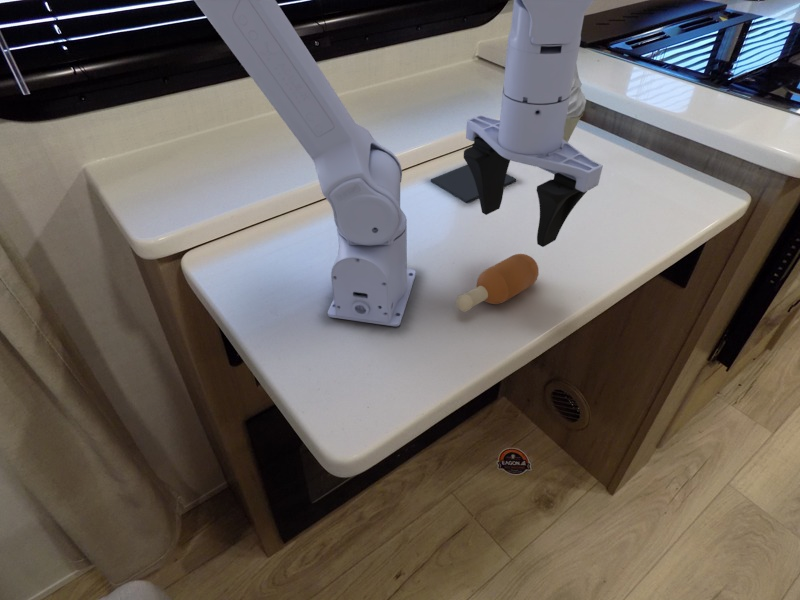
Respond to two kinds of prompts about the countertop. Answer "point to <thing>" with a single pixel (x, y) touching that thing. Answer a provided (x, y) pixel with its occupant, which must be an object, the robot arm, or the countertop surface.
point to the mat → (462, 183)
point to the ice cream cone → (574, 107)
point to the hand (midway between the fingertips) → (517, 225)
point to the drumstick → (501, 282)
